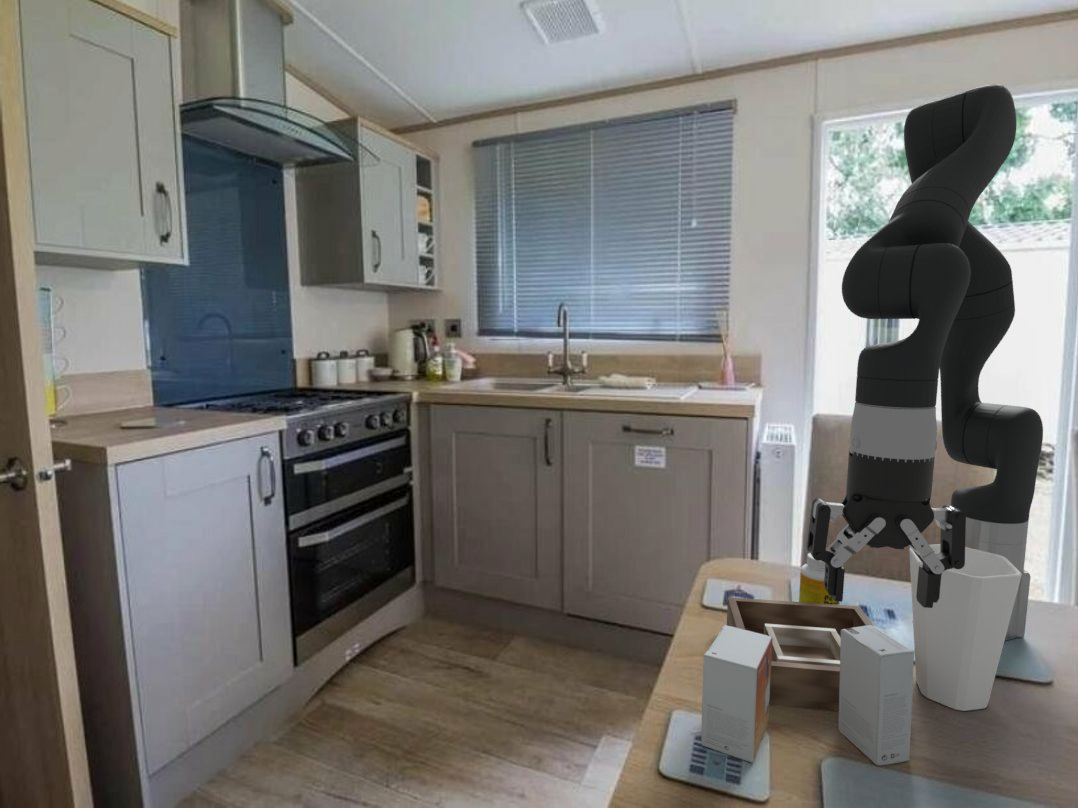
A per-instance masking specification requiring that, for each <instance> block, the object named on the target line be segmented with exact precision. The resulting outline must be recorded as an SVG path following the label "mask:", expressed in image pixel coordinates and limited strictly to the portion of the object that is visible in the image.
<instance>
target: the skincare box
mask: <svg viewBox="0 0 1078 808" xmlns="http://www.w3.org/2000/svg"><path fill="white" fill-rule="evenodd" d="M873 625H874V624H873ZM873 625H867V626H860V627H853V628H847V629H842V630H841V644H840V687H839V712H838V731H839V733H841V734H842V735H843V736H844V737H846V739H848V740H849V741H850V742H851V743H852V744H853V745H854V746H855V747H856V748H857V749H859V750H860V751H861V752H862V753H863V754H864V755H865V756H866V757H867V758H868V759H869V760H870V761H871V762H872V763H873V764H875V765H876V766H885V765H886V766H887V765H891V764H897V763H898V764H899V763H902V762H903V763H904V762H907V761H909V760H910V757H911V754H910V753H911V739H912V738H911V737H912V735H911V733H912V714H913V713H912V711H913V710H912V709H913V686H914V664H915V650H912V649H911V648H910V647H908V646H906V645H904V644H902V643H901V642H899V641H898V640H896V639H895V638H893V637H892V636H890V635H888V634H887V633H885V632H883V631H882V630H880V629H879V628H877V627H876V626H875V625H874V626H875V627H874V626H873Z"/></svg>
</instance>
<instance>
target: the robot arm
mask: <svg viewBox="0 0 1078 808" xmlns="http://www.w3.org/2000/svg"><path fill="white" fill-rule="evenodd" d="M1013 98H1014V97H1013V95H1012V93H1011V91H1010V90H1009V89H1008V88H1007V87H1006V86H1004V85H1003V84H995V83H994V84H993V83H992V84H987V85H981V86H977V87H974V88H971V89H968V90H964V91H961V92H959V93H955V94H952V95H948V96H945V97H943V98H939V99H936V100H932V101H929V102H926V103H924V104H921V105H918V106H915V107H914V108H912V109H911V110H910V111H909V112H908V114H907V116H906V118H905V121H904V127H903V141H904V143H903V144H904V151H905V153H904V154H905V158H906V163H907V168H908V172H909V178H910V181H911V184H910V186H908V187H907V189H906V190H905V191H904V192H903V193H902V195H901V197H900V198H899V200H898V201H897V203H896V206H895V208H894V210H893V212H892V214H891V216H890V219H889V221H888V223H886V224H885V225H884V226H882V227H881V228H880V229H879V230H878V231H877V232H876V233H874V234H873V235H872V236H871V237H870V238H869V239H868V240H867V241H866V242H864V243H863V244H862V245H861V246H860V247H859V248H858V249H857V251H856V252H855V253H854V254H853V256H852V257H851V259H850V260H849V262H848V264H847V266H846V268H845V270H844V273H843V277H842V283H841V296H842V300H843V302H844V304H845V306H846V307H847V309H848V310H849V311H850V312H851V313H852V314H854V315H855V316H857V317H859V318H863V319H868V320H915V319H917V320H918V321H917V322H918V323H917V326H916V327H915V328H914V330H913V332H912V333H911V334H909V335H908V336H907V337H905V338H903V339H900V340H896V341H891V342H890V341H889V342H882V343H877V344H872V345H868V346H867V347H864V348H863V349H861V351H860V353H859V356H858V360H857V368H856V383H855V384H856V385H855V399H854V401H855V402H854V408H853V413H852V417H851V422H850V428H849V429H850V432H849V446H848V462H847V475H846V476H847V477H846V494H845V497H844V499H843V501H842V502H841V503H839V502H830V501H824V500H823V499H822V498H815V499H813V500H812V503H811V510H810V518H809V519H810V520H809V525H808V534H807V542H806V549H807V551H808V552H809V553H811V555H812V557H813V558H814V559H815V560H817V561H820V560H821V561H823V562H825V577H824V586H825V589H826V591H827V592H828V594H829V595H830V596H831V597H832V599H833V600H834V601H839V603H840V602H841V603H842V602H843V601H844V586H845V585H844V584H845V582H844V581H845V570H846V568H845V567H844V566H843V565H844V564H845V563H846V562H847V561H848V560H849V558H851V557H852V556H853V555H856V554H858V553H860V551H861V549H863V548H864V547H865V546H866V545H867V546H869V547H870V548H872V549H873V548H874V549H875V548H876V549H879V548H885V547H886V548H887V547H888V548H891V549H895V550H905V548H906V547H909V548H911V549H912V550H913V551H914V553H915V554H916V555H917V557H918V558H919V559H920V561H921V562H922V563H923V566H919V570H918V582H917V594H916V598H917V601H918V602H919V603H920V604H921V605H922V606H923V607H925V608H932V607H933V602H934V603H937V601H938V600H939V596H940V585H941V575H942V573H943V572H944V571H945V570H948V569H952V568H955V569H961V568H963V567H964V565H965V547H967V548H972V549H976V550H980V551H984V552H989V553H993V554H997V555H1000V556H1003V557H1005V558H1007V559H1008V560H1009V561H1010V562H1011V563H1012V564H1013V565H1014V566H1015V567H1016V568H1017V569H1018V570H1019V571H1020V572H1021V573H1022V576H1021V579H1020V583H1019V587H1018V591H1017V595H1016V599H1015V602H1014V606H1013V610H1012V614H1011V618H1010V621H1009V625H1008V629H1007V633H1006V637H1005V641H1008V640H1012V639H1015V638H1025V633H1026V623H1027V616H1028V615H1027V614H1028V604H1029V603H1028V602H1029V595H1030V587H1031V586H1030V584H1031V573H1030V572H1028V571H1026V570H1025V560H1026V552H1027V551H1026V549H1027V542H1028V541H1027V540H1028V539H1027V538H1028V529H1029V520H1030V512H1031V511H1030V510H1031V507H1032V503H1033V500H1034V496H1035V490H1036V482H1037V481H1036V480H1037V476H1038V475H1037V474H1038V470H1039V469H1038V468H1039V464H1040V457H1041V452H1042V446H1043V439H1044V426H1043V421H1042V418H1041V416H1040V414H1039V413H1038V412H1037V411H1036V410H1035V409H1033V408H1030V407H1027V406H1026V407H1025V406H1019V405H1011V404H1010V405H1008V404H998V403H997V404H996V403H988V402H982V401H981V398H980V393H979V382H980V375H981V373H982V370H983V368H984V366H985V364H986V362H987V361H988V360H989V359H990V357H991V356H992V354H993V352H994V351H995V350H996V348H997V347H998V346H999V344H1000V343H1001V342H1002V340H1003V338H1004V337H1005V335H1006V334H1007V333H1008V331H1009V329H1010V327H1011V325H1012V322H1013V321H1014V317H1015V314H1016V302H1015V293H1014V282H1013V281H1014V280H1013V271H1012V268H1011V265H1010V263H1009V260H1007V258H1006V257H1005V256H1004V254H1003V253H1002V252H1001V251H1000V250H999V249H998V248H997V247H996V245H994V244H993V243H992V241H990V240H989V238H987V237H986V236H985V235H984V234H983V233H982V232H980V230H978V228H976V227H975V226H974V225H973V224H972V223H971V222H970V216H971V213H972V211H973V208H974V207H975V205H976V202H977V201H978V199H979V198H980V196H981V195H982V194H983V192H984V191H985V189H986V188H987V187H988V185H989V184H990V183H991V181H992V180H993V179H994V177H995V176H996V175H997V173H998V172H999V170H1000V169H1001V167H1002V166H1003V164H1004V163H1005V162H1006V160H1007V158H1008V157H1009V156H1010V154H1011V151H1012V149H1013V146H1014V144H1015V140H1016V134H1017V125H1018V124H1017V112H1016V106H1015V101H1014V99H1013ZM939 376H940V409H941V410H940V411H941V432H942V440H943V445H944V448H945V450H946V453H947V454H948V456H949V458H951V459H952V460H953V461H955V462H958V463H962V464H965V465H970V466H975V467H982V468H988V469H994V470H996V473H995V476H994V480H993V482H990V483H988V484H984V485H975V486H972V485H971V486H965V487H959V488H957V489H956V490H953V492H952V494H951V498H950V499H951V500H950V504H949V503H947V504H946V503H945V504H944V505H943V506H942V507H932V506H931V498H932V494H933V493H932V492H933V491H932V490H933V482H934V481H933V479H934V469H935V458H936V457H935V456H936V455H935V454H936V450H937V448H938V442H937V435H938V432H937V431H938V426H937V425H938V423H937V397H938V386H939ZM840 515H841V516H842V517H843V519H844V520H845V522H846V525H845V526H844V527H843V528H842V529H841V530H840V531H839V532H838V534H837V535H836V538H835V540H833V542H832V543H830V544H829V546H828V547H827V544H828V534H829V527H830V525H832V524H834V523H835V522H836V519H837V518H838V516H840ZM934 520H935V524H936V526H937V527H939V528H940V543H939V544H940V553H937V554H935V553H934V551H933V549H932V548H931V547H930V545H931V544H929V543H928V541H927V539H926V538H925V537H924V536H923V534H922V533H923V532H924V531H926V529H927V528H928V527H929V526H930V525H931V524H932V523H933V521H934Z"/></svg>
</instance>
